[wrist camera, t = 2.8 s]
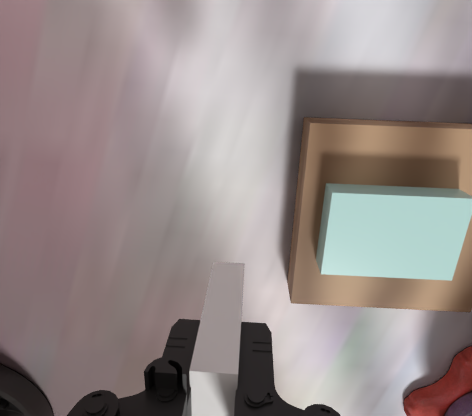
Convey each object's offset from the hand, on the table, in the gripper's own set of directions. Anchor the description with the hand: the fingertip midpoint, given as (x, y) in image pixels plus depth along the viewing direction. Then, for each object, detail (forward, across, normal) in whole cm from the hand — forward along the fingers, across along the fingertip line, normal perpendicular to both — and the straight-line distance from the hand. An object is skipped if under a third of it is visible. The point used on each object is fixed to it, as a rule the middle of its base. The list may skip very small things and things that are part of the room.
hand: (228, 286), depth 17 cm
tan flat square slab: (+12, +12, 0) cm, 17 cm away
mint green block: (+9, +10, 0) cm, 14 cm away
